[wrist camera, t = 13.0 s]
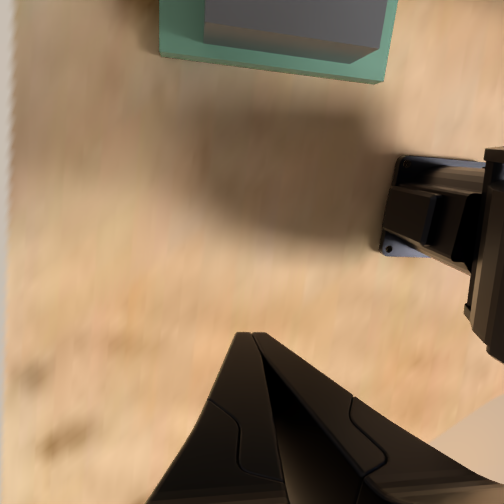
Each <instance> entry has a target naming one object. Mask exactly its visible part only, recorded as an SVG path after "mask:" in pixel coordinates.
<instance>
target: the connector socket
mask: <svg viewBox="0 0 504 504" xmlns="http://www.w3.org/2000/svg"><path fill="white" fill-rule="evenodd" d="M387 1H388V0H205V5H204V35H203V43H204V44H211V45H218V46H225V47H232V48H239V49H246V50H253V51H260V52H267V53H274V54H282V55H289V56H296V57H303V58H310V59H317V60H324V61H331V62H338V63H345V64H351V63H353V62H355V61H357V60H359V59H361V58H363V57H365V56H366V55H368V54H370V53H372V52H374V51H376V50H378V49H379V48H380V42H381V36H382V30H383V24H384V19H385V13H386V7H387Z"/></svg>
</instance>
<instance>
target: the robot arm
mask: <svg viewBox="0 0 504 504" xmlns="http://www.w3.org/2000/svg"><path fill="white" fill-rule="evenodd" d="M405 160H406V161H407V165H406V167H404V166H403V163H404V161H405ZM484 160H485V161H486V163H485V162H474V161H463V160H452V159H441V158H430V157H419V156H407V155H404V156H401V157H399V158H398V160H397V162H396V166H395V171H394V176H393V181H392V186H391V188H390V190H389V194H388V199H387V204H386V209H385V214H384V219H383V224H382V227H383V230H382V235H381V240H380V245H379V251H380V253H381V254H383V255H385V256H393V257H426V258H433V259H435V260H438V261H440V262H442V263H444V264H446V265H448V266H450V267H452V268H455V269H457V270H459V271H461V272H463V273H465V274H467V275H469V276H471V278H470V285H469V293H468V300H467V303H466V304H465V306H464V315H465V316H466V317H467V318H468V320H469V321H470V323H471V327H472V330H473V332H474V333H475V334H476V335H477V336H478V337H479V338H480V339H481V340H482V341H483V342H484V343H485V344H486V345H487V348H486V351H487V353H488V354H489V355H490V356H492V357H493V358H494V359H496V360H497V361H499V362H501V363H502V364H504V146H503V147H493V148H485V153H484ZM387 246H389V249H388V250H387V251H386V247H387ZM145 504H504V484H500V483H497V482H495V481H492V480H489V479H487V478H485V477H483V476H480V475H478V474H476V473H475V472H473V471H471V470H469V469H468V468H466V467H464V466H462V465H461V464H459V463H458V462H456V461H454V460H453V459H451V458H449V457H448V456H446V455H444V454H443V453H441V452H440V451H438V450H436V449H435V448H433V447H431V446H430V445H428V444H427V443H425V442H423V441H422V440H420V439H419V438H417V437H415V436H414V435H412V434H410V433H409V432H407V431H406V430H404V429H403V428H401V427H399V426H398V425H396V424H395V423H393V422H391V421H390V420H388V419H387V418H385V417H384V416H382V415H381V414H379V413H378V412H377V411H375V410H374V409H372V408H371V407H369V406H368V405H366V404H365V403H364V402H362V401H361V400H359V399H358V398H357V397H353V395H352V394H351V393H350V392H348V391H347V390H345V389H344V388H343V387H341V386H340V385H338V384H337V383H336V382H334V381H333V380H331V379H330V378H329V377H327V376H326V375H324V374H323V373H322V372H320V371H319V370H317V369H316V368H315V367H313V366H312V365H310V364H309V363H308V362H306V361H305V360H303V359H302V358H301V357H299V356H298V355H297V354H295V353H294V352H292V351H291V350H290V349H288V348H287V347H285V346H284V345H283V344H281V343H280V342H278V341H277V340H276V339H274V338H273V337H271V336H270V335H269V334H267V333H265V332H253V333H252V334H251V333H250V332H237V333H236V334H235V336H234V338H233V340H232V343H231V345H230V347H229V350H228V352H227V354H226V357H225V359H224V361H223V364H222V366H221V368H220V371H219V373H218V375H217V378H216V380H215V382H214V385H213V387H212V389H211V392H210V394H209V396H208V399H207V401H206V403H205V405H204V407H203V410H202V412H201V414H200V416H199V418H198V420H197V422H196V424H195V426H194V428H193V430H192V432H191V433H190V435H189V437H188V438H187V440H186V442H185V443H184V445H183V447H182V448H181V450H180V451H179V453H178V454H177V456H176V457H175V459H174V460H173V462H172V463H171V465H170V466H169V468H168V469H167V471H166V473H165V474H164V476H163V477H162V479H161V480H160V482H159V483H158V485H157V486H156V488H155V489H154V491H153V492H152V494H151V495H150V497H149V498H148V500H147V501H146V503H145Z"/></svg>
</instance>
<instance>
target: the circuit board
mask: <svg viewBox="0 0 504 504" xmlns="http://www.w3.org/2000/svg"><path fill="white" fill-rule="evenodd" d="M397 3H398V0H388V1H387V7H386V13H385V19H384V24H383V30H382V36H381V42H380V48H379V49H378V50H376V51H374V52H372V53H370V54H368V55H366V56H365V57H363V58H361V59H359V60H357V61H355V62H353V63H351V64H345V63H338V62H331V61H324V60H317V59H310V58H303V57H296V56H289V55H282V54H274V53H267V52H260V51H253V50H246V49H239V48H232V47H225V46H218V45H211V44H204V43H203V35H204V5H205V0H159V52H160V55H161V57H169V58H177V59H184V60H192V61H199V62H207V63H215V64H222V65H230V66H237V67H245V68H253V69H260V70H268V71H276V72H283V73H291V74H298V75H306V76H314V77H321V78H329V79H336V80H344V81H352V82H359V83H367V84H377V83H380V82H383V81H384V76H385V70H386V65H387V59H388V54H389V48H390V42H391V37H392V31H393V26H394V20H395V14H396V9H397Z"/></svg>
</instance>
